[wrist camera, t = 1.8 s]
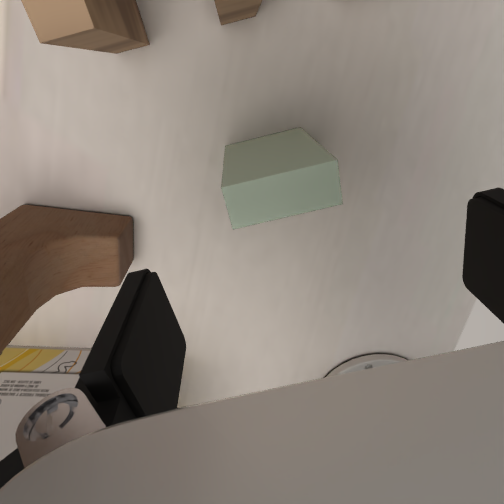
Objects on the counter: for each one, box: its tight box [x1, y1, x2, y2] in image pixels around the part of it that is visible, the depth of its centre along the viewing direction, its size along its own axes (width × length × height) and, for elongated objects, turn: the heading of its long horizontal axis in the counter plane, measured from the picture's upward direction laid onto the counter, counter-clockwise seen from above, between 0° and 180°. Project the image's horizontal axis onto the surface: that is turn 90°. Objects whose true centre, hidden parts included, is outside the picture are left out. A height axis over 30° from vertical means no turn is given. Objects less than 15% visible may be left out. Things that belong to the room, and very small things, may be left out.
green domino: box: [221, 127, 343, 229], centre depth 23 cm, size 6×2×11 cm, turn 103°
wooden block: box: [0, 205, 133, 354], centre depth 23 cm, size 9×4×18 cm, turn 82°
